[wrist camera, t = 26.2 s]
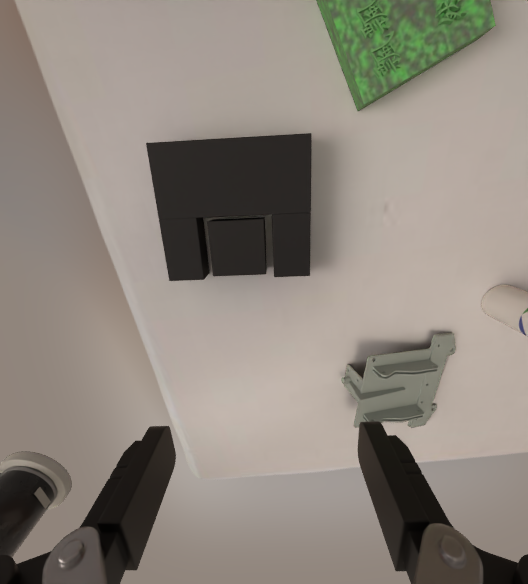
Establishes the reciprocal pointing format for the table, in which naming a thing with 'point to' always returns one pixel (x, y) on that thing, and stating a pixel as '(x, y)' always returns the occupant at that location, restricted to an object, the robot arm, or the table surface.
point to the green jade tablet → (399, 38)
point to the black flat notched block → (233, 196)
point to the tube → (507, 306)
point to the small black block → (237, 246)
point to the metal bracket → (400, 384)
